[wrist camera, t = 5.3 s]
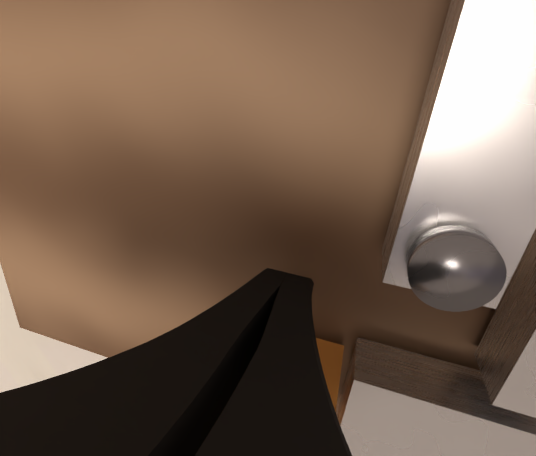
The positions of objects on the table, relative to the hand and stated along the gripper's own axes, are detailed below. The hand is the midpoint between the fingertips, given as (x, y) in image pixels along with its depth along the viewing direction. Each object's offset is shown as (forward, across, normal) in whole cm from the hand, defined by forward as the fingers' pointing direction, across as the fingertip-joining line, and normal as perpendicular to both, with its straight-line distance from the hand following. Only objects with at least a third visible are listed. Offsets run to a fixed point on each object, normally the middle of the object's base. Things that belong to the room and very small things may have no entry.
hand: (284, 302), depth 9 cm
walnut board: (+2, +1, -8) cm, 8 cm away
